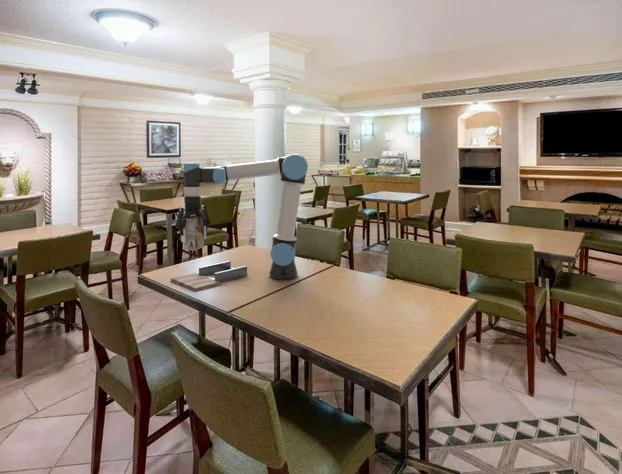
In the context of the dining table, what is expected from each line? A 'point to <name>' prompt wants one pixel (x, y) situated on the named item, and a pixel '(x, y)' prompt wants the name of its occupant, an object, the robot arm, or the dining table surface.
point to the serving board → (195, 281)
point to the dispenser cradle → (223, 271)
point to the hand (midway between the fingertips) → (194, 240)
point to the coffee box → (194, 233)
